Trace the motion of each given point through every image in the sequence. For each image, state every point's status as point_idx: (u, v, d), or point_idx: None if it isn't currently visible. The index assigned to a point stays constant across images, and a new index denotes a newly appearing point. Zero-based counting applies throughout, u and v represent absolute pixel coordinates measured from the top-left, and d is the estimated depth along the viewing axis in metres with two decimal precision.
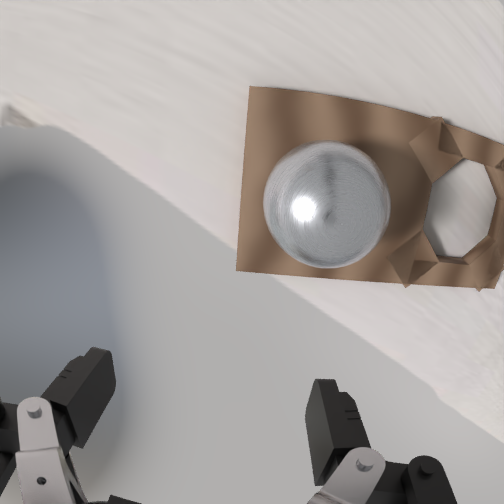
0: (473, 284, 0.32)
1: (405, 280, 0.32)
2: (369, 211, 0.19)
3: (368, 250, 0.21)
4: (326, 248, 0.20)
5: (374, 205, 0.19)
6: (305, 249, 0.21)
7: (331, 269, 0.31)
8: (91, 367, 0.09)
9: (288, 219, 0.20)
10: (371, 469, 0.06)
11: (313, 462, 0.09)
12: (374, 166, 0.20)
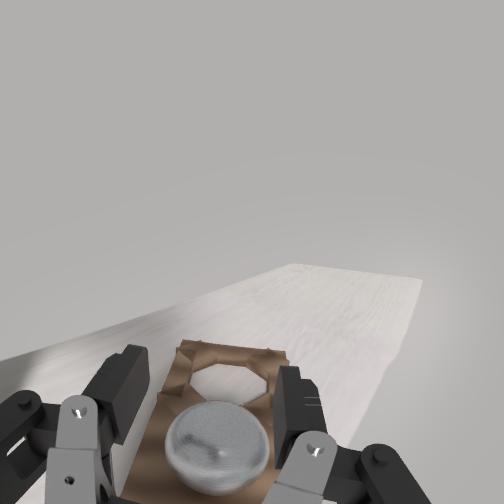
0: (284, 365, 0.48)
1: None
2: (211, 404, 0.26)
3: None
4: (240, 426, 0.23)
5: (207, 402, 0.26)
6: (244, 442, 0.22)
7: None
8: (131, 364, 0.10)
9: (220, 452, 0.21)
10: (321, 452, 0.07)
11: (275, 446, 0.09)
12: None
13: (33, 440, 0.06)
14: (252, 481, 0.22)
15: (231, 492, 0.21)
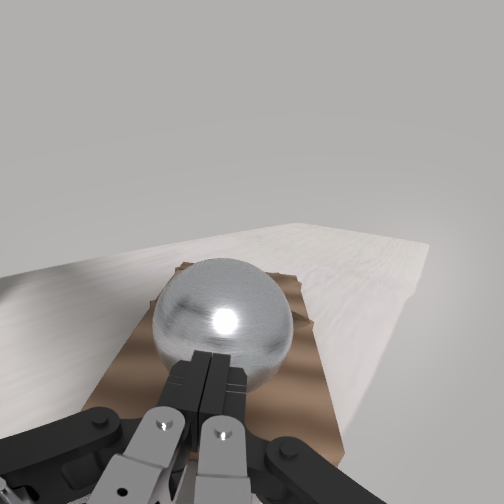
0: (296, 286, 0.45)
1: (306, 322, 0.35)
2: None
3: None
4: (257, 275, 0.20)
5: None
6: (263, 292, 0.19)
7: (311, 369, 0.26)
8: (204, 370, 0.10)
9: (229, 301, 0.18)
10: (225, 437, 0.07)
11: None
12: None
13: (99, 458, 0.07)
14: (272, 364, 0.18)
15: None
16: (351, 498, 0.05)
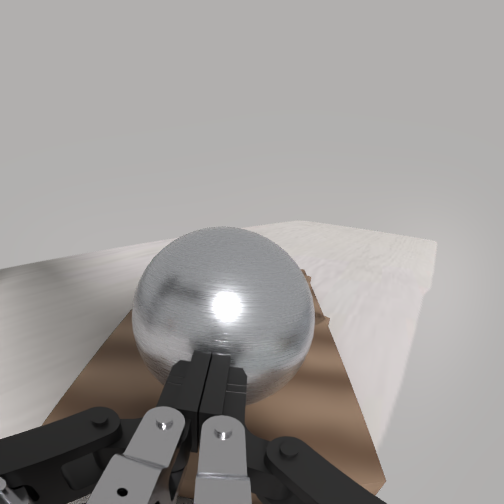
0: None
1: (321, 319, 0.29)
2: None
3: None
4: (268, 241, 0.16)
5: None
6: (277, 258, 0.15)
7: (333, 375, 0.20)
8: (204, 370, 0.10)
9: (234, 264, 0.13)
10: (225, 437, 0.07)
11: None
12: None
13: (99, 458, 0.07)
14: (292, 355, 0.14)
15: (252, 379, 0.13)
16: (351, 498, 0.05)
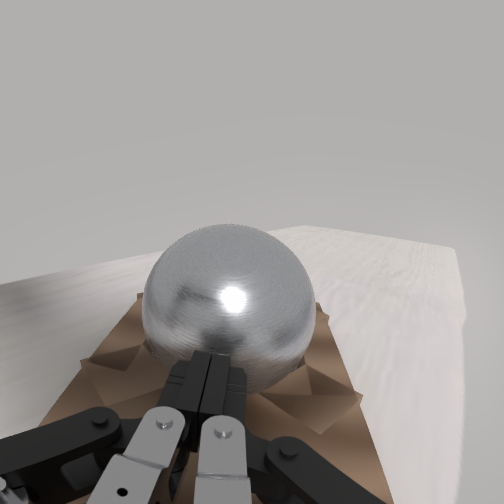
0: (322, 322, 0.28)
1: (351, 398, 0.18)
2: None
3: None
4: None
5: None
6: None
7: None
8: (204, 370, 0.10)
9: None
10: (225, 437, 0.07)
11: None
12: None
13: (99, 458, 0.07)
14: None
15: None
16: (351, 498, 0.05)
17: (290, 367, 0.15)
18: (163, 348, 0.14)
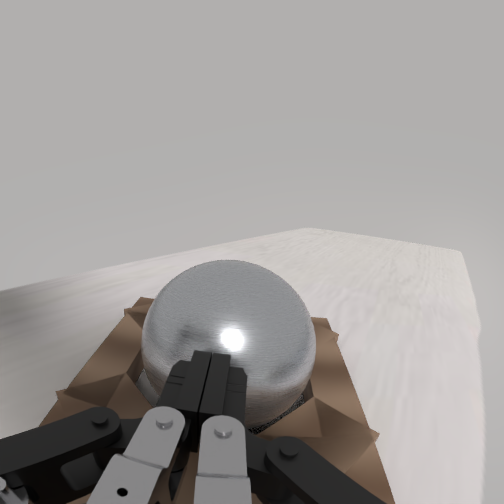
0: (331, 342, 0.25)
1: (366, 438, 0.14)
2: None
3: (257, 426, 0.15)
4: None
5: None
6: None
7: None
8: (204, 370, 0.10)
9: None
10: (225, 437, 0.07)
11: None
12: None
13: (99, 458, 0.07)
14: None
15: None
16: (351, 498, 0.05)
17: (298, 372, 0.14)
18: (167, 335, 0.13)
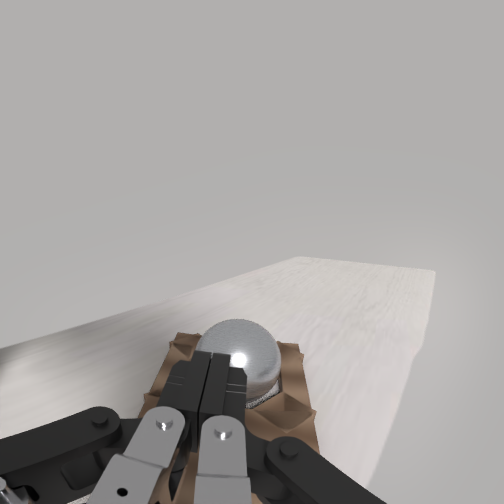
0: (298, 360, 0.41)
1: (308, 413, 0.30)
2: None
3: (252, 400, 0.31)
4: None
5: None
6: None
7: None
8: (204, 370, 0.10)
9: None
10: (225, 437, 0.07)
11: None
12: None
13: (99, 458, 0.07)
14: None
15: None
16: (351, 498, 0.05)
17: (270, 369, 0.31)
18: None
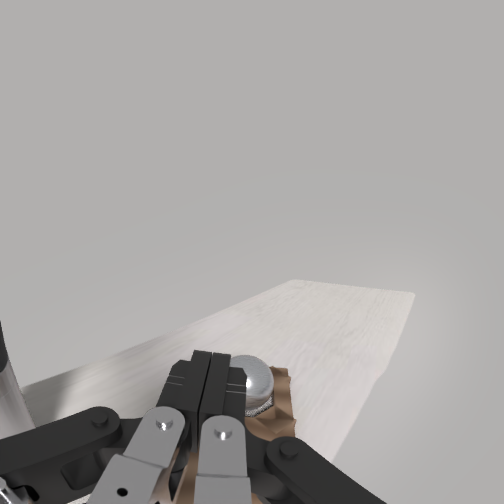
0: (286, 381, 0.56)
1: (290, 421, 0.46)
2: None
3: (255, 407, 0.47)
4: None
5: None
6: None
7: None
8: (204, 370, 0.10)
9: None
10: (225, 437, 0.07)
11: None
12: None
13: (99, 458, 0.07)
14: None
15: None
16: (351, 498, 0.05)
17: (267, 387, 0.47)
18: None
